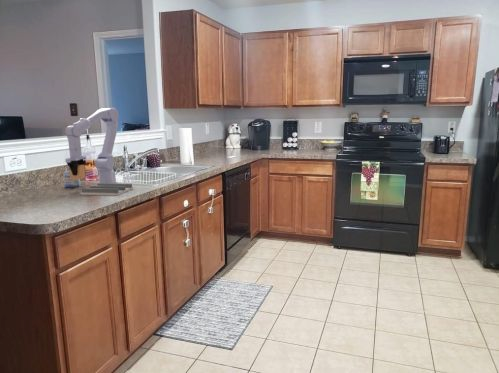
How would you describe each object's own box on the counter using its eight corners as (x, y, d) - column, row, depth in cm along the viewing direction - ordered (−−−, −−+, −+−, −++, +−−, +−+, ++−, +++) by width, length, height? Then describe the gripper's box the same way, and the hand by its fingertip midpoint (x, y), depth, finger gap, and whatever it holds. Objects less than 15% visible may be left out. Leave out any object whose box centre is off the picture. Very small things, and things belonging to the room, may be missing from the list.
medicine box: (64, 187, 215) (62, 172, 214) (66, 186, 220) (64, 171, 218) (79, 186, 217) (78, 171, 216) (80, 185, 222) (79, 170, 220)
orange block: (75, 177, 206) (74, 164, 204) (85, 177, 205) (84, 164, 203) (70, 178, 202) (69, 165, 201) (80, 179, 201) (79, 165, 199)
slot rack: (99, 188, 212) (99, 182, 211) (133, 188, 208) (132, 183, 207) (80, 194, 195) (80, 188, 195) (116, 195, 191) (116, 189, 191)
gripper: (77, 147, 208) (79, 172, 211) (59, 150, 194) (62, 176, 197) (88, 147, 207) (91, 172, 209) (71, 150, 193) (74, 176, 195)
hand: (77, 174), depth 203 cm, fingers closed on orange block, 4 cm apart
